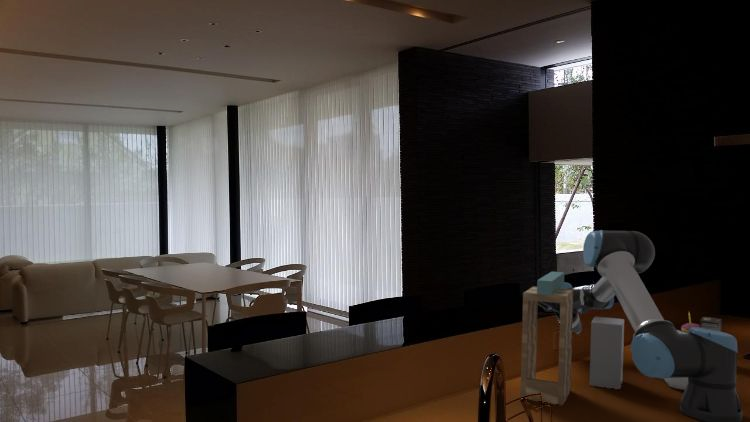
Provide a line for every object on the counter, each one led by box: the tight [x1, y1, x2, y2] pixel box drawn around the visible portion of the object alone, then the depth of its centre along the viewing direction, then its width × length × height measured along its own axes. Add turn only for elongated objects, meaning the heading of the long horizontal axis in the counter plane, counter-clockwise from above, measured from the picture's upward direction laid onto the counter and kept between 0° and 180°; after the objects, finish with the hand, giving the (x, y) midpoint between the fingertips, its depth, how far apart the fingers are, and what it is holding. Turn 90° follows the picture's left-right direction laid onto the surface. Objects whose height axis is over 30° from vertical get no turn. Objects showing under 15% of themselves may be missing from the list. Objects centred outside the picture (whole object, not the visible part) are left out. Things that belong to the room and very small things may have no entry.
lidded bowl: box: [663, 377, 688, 391], centre depth 194 cm, size 13×13×11 cm
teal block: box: [536, 271, 565, 295], centre depth 187 cm, size 24×4×4 cm, turn 155°
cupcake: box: [680, 312, 700, 334], centre depth 259 cm, size 9×8×12 cm
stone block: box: [589, 316, 625, 390], centre depth 196 cm, size 10×9×20 cm
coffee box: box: [699, 316, 723, 332], centre depth 222 cm, size 9×6×16 cm
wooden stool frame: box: [520, 285, 573, 406], centre depth 183 cm, size 15×12×31 cm
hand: (559, 291), depth 202 cm, fingers open, 13 cm apart
